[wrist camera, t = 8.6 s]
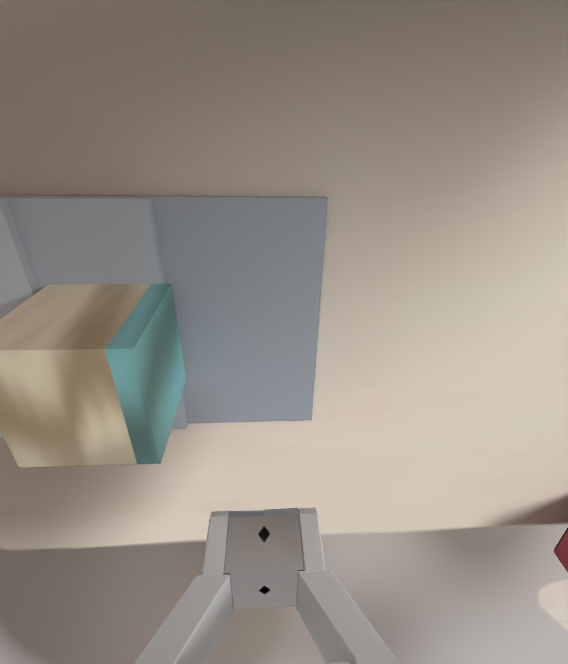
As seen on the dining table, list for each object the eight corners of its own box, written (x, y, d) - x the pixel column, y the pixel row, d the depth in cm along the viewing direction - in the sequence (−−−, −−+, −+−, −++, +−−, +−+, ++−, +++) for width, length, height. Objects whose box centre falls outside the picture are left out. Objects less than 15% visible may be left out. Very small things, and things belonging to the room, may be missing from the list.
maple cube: (171, 283, 18) (48, 284, 18) (133, 348, 13) (-43, 351, 12) (186, 379, 21) (80, 381, 21) (160, 463, 16) (19, 467, 15)
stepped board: (-211, 193, 16) (-250, 198, 15) (326, 196, 17) (330, 202, 16) (-62, 424, 23) (-80, 441, 22) (310, 416, 24) (313, 431, 23)
